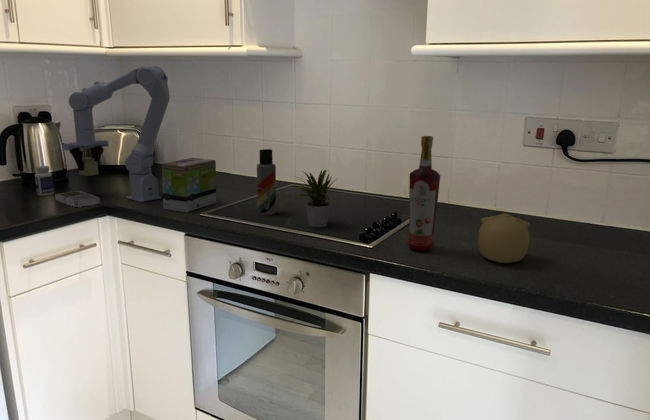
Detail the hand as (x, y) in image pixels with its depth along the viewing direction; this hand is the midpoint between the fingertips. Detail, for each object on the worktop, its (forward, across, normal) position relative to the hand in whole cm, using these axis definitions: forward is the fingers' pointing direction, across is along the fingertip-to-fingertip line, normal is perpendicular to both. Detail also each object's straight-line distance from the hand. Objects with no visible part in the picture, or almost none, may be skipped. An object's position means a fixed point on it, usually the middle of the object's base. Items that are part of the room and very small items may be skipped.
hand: (88, 169), depth 179 cm
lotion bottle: (+9, -28, +59) cm, 66 cm away
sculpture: (+9, -38, +130) cm, 136 cm away
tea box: (+10, -16, +35) cm, 40 cm away
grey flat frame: (+10, +6, +4) cm, 12 cm away
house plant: (+9, -30, +78) cm, 84 cm away
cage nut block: (+2, 0, 0) cm, 2 cm away
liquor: (+9, -31, +112) cm, 116 cm away
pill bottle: (+10, +9, -15) cm, 20 cm away
